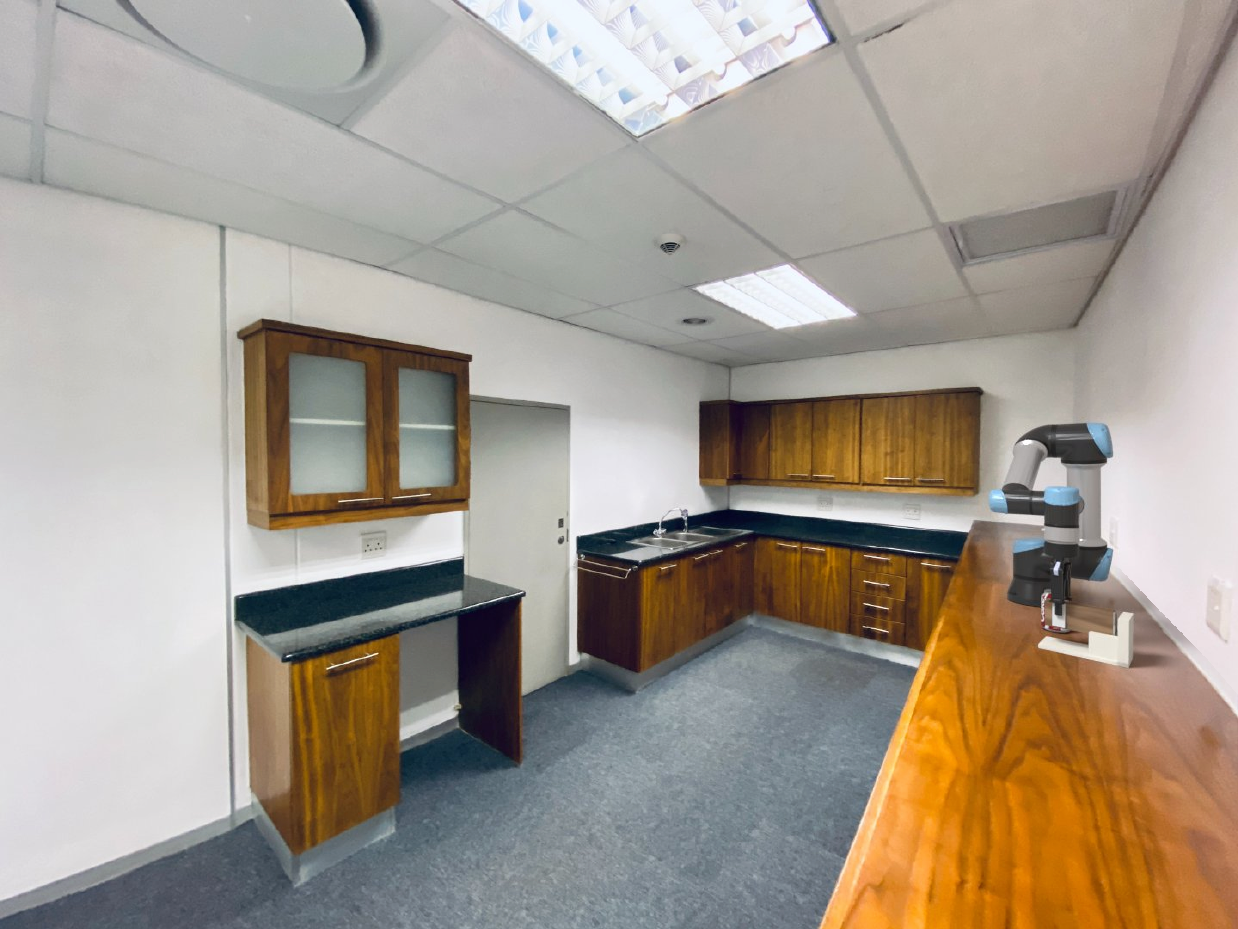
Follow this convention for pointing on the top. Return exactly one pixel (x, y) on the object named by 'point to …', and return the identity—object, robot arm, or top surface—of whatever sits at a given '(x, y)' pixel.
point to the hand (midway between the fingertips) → (1060, 624)
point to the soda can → (1053, 629)
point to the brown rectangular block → (1085, 618)
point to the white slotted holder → (1100, 644)
